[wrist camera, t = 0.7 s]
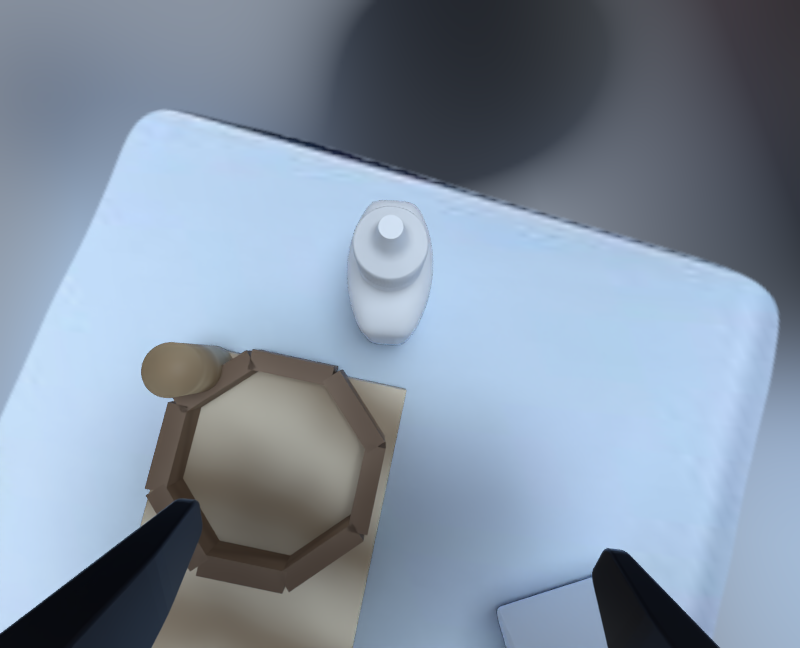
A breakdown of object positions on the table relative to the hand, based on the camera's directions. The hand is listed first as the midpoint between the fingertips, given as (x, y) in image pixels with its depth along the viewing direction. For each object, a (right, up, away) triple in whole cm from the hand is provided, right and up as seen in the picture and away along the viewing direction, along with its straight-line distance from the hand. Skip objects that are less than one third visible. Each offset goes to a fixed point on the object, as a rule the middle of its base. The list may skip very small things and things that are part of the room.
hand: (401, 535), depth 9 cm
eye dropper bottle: (-1, +6, +14) cm, 16 cm away
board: (-7, -6, +13) cm, 16 cm away
